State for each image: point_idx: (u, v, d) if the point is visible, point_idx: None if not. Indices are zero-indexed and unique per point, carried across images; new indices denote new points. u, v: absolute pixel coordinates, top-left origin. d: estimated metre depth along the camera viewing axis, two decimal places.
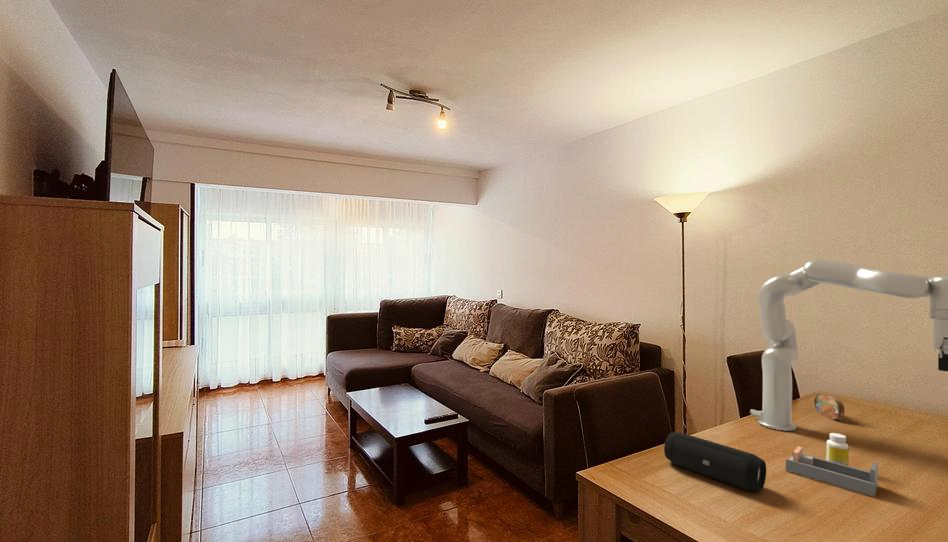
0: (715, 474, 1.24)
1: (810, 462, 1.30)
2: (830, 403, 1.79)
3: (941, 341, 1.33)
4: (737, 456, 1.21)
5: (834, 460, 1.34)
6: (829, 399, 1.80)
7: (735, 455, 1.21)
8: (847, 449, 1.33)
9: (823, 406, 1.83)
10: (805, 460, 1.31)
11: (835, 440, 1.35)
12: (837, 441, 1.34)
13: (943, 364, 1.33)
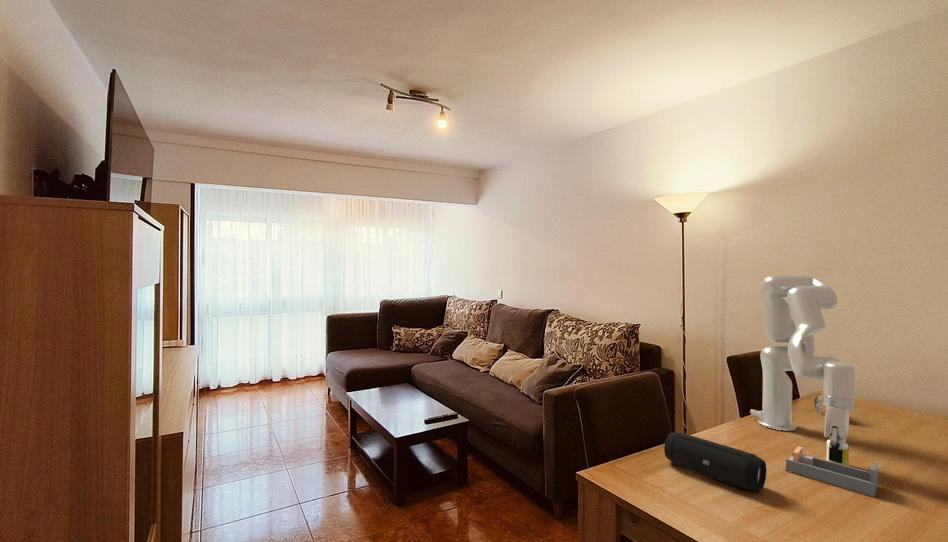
0: (715, 474, 1.24)
1: (810, 462, 1.30)
2: None
3: (830, 429, 1.33)
4: (737, 456, 1.21)
5: None
6: None
7: (735, 455, 1.21)
8: (847, 449, 1.33)
9: (823, 406, 1.83)
10: (805, 460, 1.31)
11: None
12: (837, 441, 1.34)
13: (833, 455, 1.33)
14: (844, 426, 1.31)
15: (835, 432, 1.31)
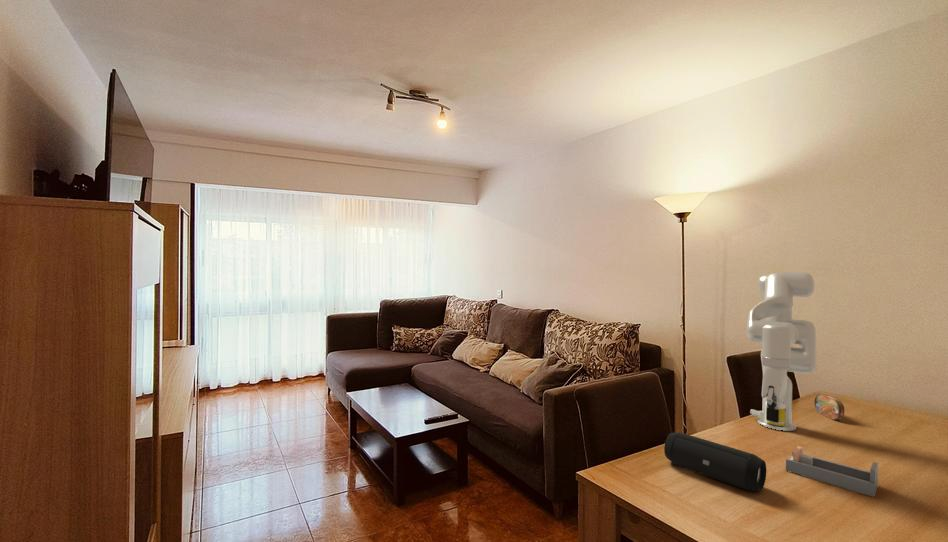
0: (715, 474, 1.24)
1: (810, 462, 1.30)
2: (830, 403, 1.79)
3: (767, 389, 1.35)
4: (737, 456, 1.21)
5: None
6: (829, 399, 1.80)
7: (735, 455, 1.21)
8: (784, 409, 1.35)
9: (823, 406, 1.83)
10: (805, 460, 1.31)
11: None
12: (774, 401, 1.36)
13: (769, 414, 1.35)
14: (780, 385, 1.33)
15: (771, 391, 1.34)
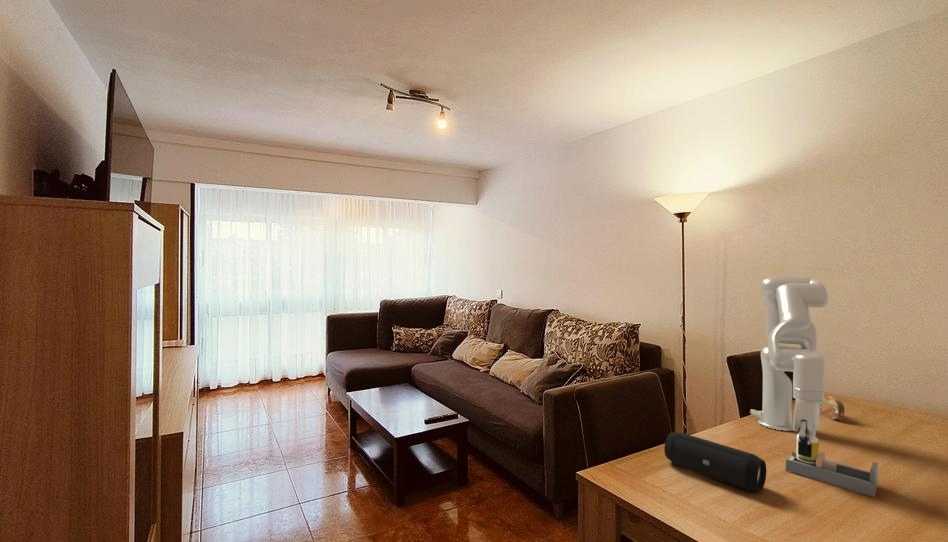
0: (715, 474, 1.24)
1: (834, 468, 1.26)
2: (830, 403, 1.79)
3: (799, 423, 1.29)
4: (737, 456, 1.21)
5: None
6: (829, 399, 1.80)
7: (735, 455, 1.21)
8: (817, 443, 1.29)
9: (823, 406, 1.83)
10: (829, 466, 1.27)
11: None
12: (807, 435, 1.30)
13: (802, 449, 1.29)
14: (813, 419, 1.27)
15: (804, 426, 1.28)
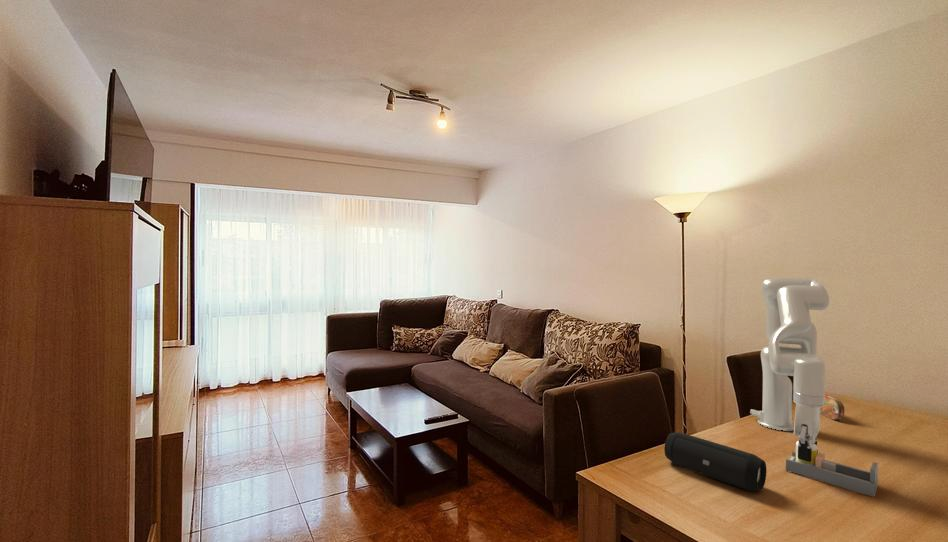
0: (715, 474, 1.24)
1: (833, 468, 1.26)
2: (830, 403, 1.79)
3: (800, 428, 1.29)
4: (737, 456, 1.21)
5: (803, 462, 1.30)
6: (829, 399, 1.80)
7: (735, 456, 1.21)
8: (816, 450, 1.29)
9: None
10: (828, 466, 1.27)
11: None
12: None
13: (801, 453, 1.28)
14: (813, 424, 1.27)
15: (804, 429, 1.27)
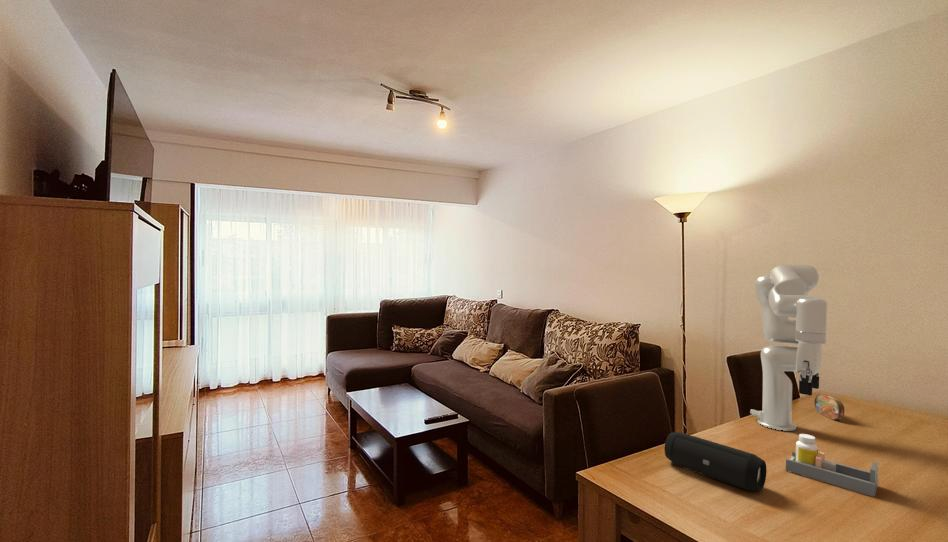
0: (715, 474, 1.24)
1: (833, 468, 1.26)
2: (830, 403, 1.79)
3: (802, 364, 1.32)
4: (737, 456, 1.21)
5: (803, 462, 1.30)
6: (829, 399, 1.80)
7: (735, 455, 1.21)
8: (816, 450, 1.29)
9: (823, 406, 1.83)
10: (828, 466, 1.27)
11: (804, 442, 1.31)
12: (806, 442, 1.30)
13: (802, 387, 1.32)
14: (815, 360, 1.31)
15: (806, 364, 1.31)
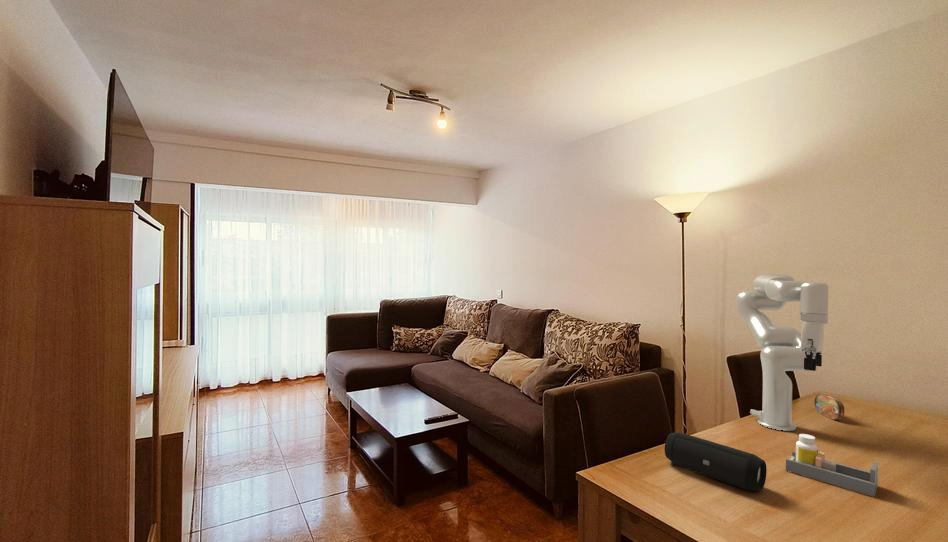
0: (715, 474, 1.24)
1: (833, 468, 1.26)
2: (830, 403, 1.79)
3: (806, 342, 1.44)
4: (737, 456, 1.21)
5: (803, 462, 1.30)
6: (829, 399, 1.80)
7: (735, 455, 1.21)
8: (816, 450, 1.29)
9: (823, 406, 1.83)
10: (828, 466, 1.27)
11: (804, 442, 1.31)
12: (806, 442, 1.30)
13: (807, 363, 1.44)
14: (818, 338, 1.43)
15: (810, 341, 1.43)
